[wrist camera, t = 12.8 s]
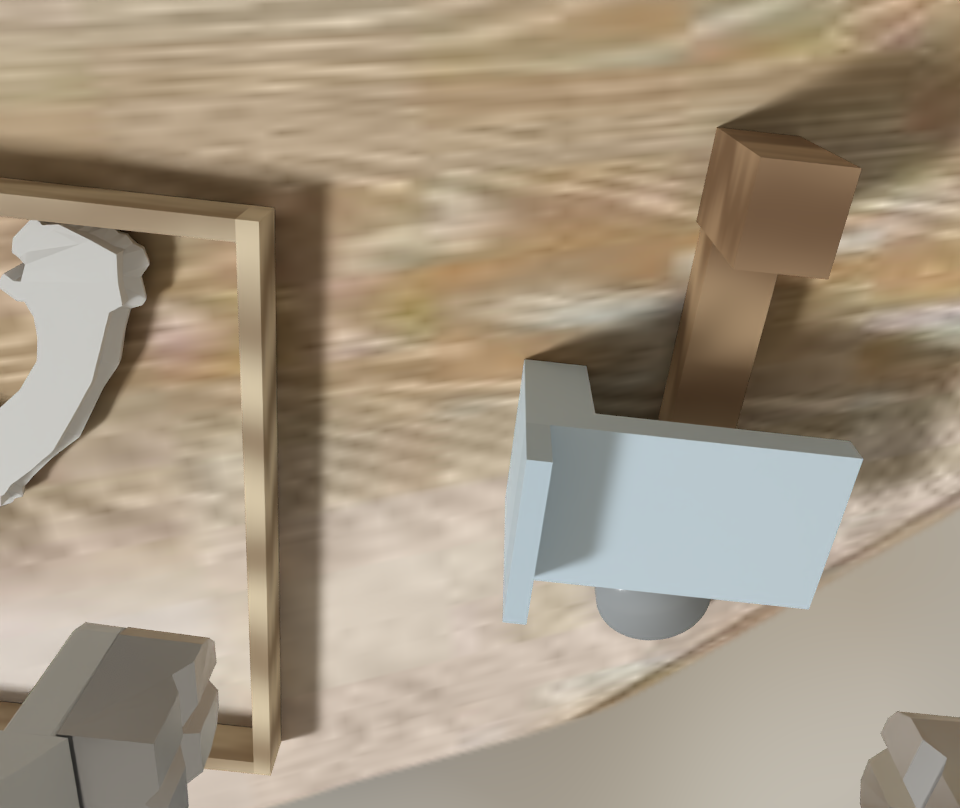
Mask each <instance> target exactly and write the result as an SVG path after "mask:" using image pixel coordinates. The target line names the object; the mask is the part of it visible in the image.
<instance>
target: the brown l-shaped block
mask: <svg viewBox="0 0 960 808" xmlns="http://www.w3.org/2000/svg"><path fill="white" fill-rule="evenodd" d="M861 170H862V168H860V167H858V166H856V165H854V164H852V163H851V162H849V161H847V160H845V159H843V158H841V157H839V156H837V155H835V154H833V153H831V152H829V151H827V150H825V149H823V148H821V147H820V146H818V145H816V144H814V143H812V142H810V141H808V140H806V139H804V138H802V137H800V136H793V135H783V134H774V133H765V132H756V131H747V130H738V129H729V128H719V127H717V130H716V134H715V139H714V144H713V148H712V153H711V157H710V162H709V166H708V171H707V175H706V180H705V185H704V189H703V194H702V198H701V203H700V207H699V212H698V217H697V223H698V224H699V225H700V227H701V229H700V233H699V238H698V242H697V247H696V251H695V256H694V260H693V265H692V269H691V274H690V278H689V283H688V287H687V292H686V296H685V301H684V305H683V310H682V314H681V319H680V323H679V328H678V332H677V337H676V341H675V346H674V350H673V355H672V359H671V364H670V368H669V373H668V377H667V382H666V386H665V391H664V395H663V400H662V404H661V409H660V413H659V418H658V420H659V421H669V422H678V423H687V424H696V425H706V426H715V427H724V428H733V429H736V426H737V422H738V419H739V415H740V411H741V408H742V404H743V400H744V397H745V393H746V389H747V386H748V382H749V378H750V375H751V371H752V367H753V364H754V360H755V356H756V353H757V349H758V345H759V342H760V338H761V334H762V331H763V327H764V323H765V320H766V316H767V312H768V309H769V305H770V301H771V298H772V294H773V290H774V287H775V283H776V279H777V276H778V274H782V275H791V276H801V277H810V278H819V279H829V275H830V272H831V269H832V266H833V262H834V259H835V256H836V252H837V249H838V246H839V242H840V239H841V236H842V232H843V229H844V226H845V222H846V219H847V216H848V213H849V209H850V206H851V203H852V199H853V196H854V193H855V189H856V186H857V183H858V179H859V176H860V173H861Z"/></svg>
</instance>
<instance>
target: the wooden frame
mask: <svg viewBox="0 0 960 808" xmlns="http://www.w3.org/2000/svg"><path fill="white" fill-rule="evenodd" d="M0 217H9V218H18V219H27V220H37V221H46V222H55V223H64V224H73V225H82V226H91V227H100V228H109V229H119V230H128V231H137V232H146V233H155V234H164V235H173V236H182V237H191V238H200V239H210V240H219V241H228V242H236V261H237V290H238V319H239V349H240V378H241V407H242V436H243V465H244V495H245V524H246V553H247V582H248V611H249V640H250V670H251V699H252V728H250V727H240V726H231V725H221V724H217V727H216V731H215V735H214V739H213V743H212V747H211V751H210V754H209V756H208V759H207V761H206V764H205V767H204V769H212V770H222V771H231V772H241V773H251V774H260V775H270V776H271V772H272V769H273V766H274V763H275V760H276V757H277V753H278V750H279V747H280V744H281V694H280V613H279V532H278V451H277V370H276V289H275V208H272V207H263V206H254V205H245V204H236V203H227V202H218V201H209V200H200V199H191V198H182V197H172V196H163V195H154V194H145V193H136V192H127V191H118V190H109V189H100V188H91V187H82V186H73V185H64V184H55V183H45V182H36V181H27V180H18V179H9V178H0ZM21 705H22V704H20V703H10V702H1V701H0V730H2V731H3V730H4V729H5V728H6V726H7V725H8V723H9V722H10V720H11V719H12V718H13V716H14V715H15V713H16V712H17V710H18V709H19V708H20V706H21Z"/></svg>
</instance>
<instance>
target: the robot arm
mask: <svg viewBox="0 0 960 808" xmlns="http://www.w3.org/2000/svg"><path fill="white" fill-rule="evenodd" d="M215 665H216V652H215V642H214V641H213V640H211V639H210V638H206V637H199V636H191V635H184V634H176V633H168V632H161V631H153V630H146V629H138V628H131V627H128V628H123V627H116V626H109V625H102V624H94V623H87V622H86V623H84V624H83V625H81V626H80V627H78V628H77V629H75V630H74V631H73V632H72V634H71V635H70V636H69V638H68V639H67V641H66V642H65V644H64V645H63V646H62V648H61V649H60V651H59V652H58V654H57V655H56V656H55V658H54V659H53V661H52V662H51V663H50V665H49V666H48V668H47V669H46V671H45V672H44V673H43V675H42V676H41V678H40V679H39V681H38V682H37V683H36V685H35V686H34V688H33V689H32V691H31V692H30V693H29V695H28V696H27V698H26V699H25V700H24V702H23V703H22V705H21V706H20V708H19V709H18V710H17V712H16V713H15V715H14V716H13V718H12V719H11V720H10V722H9V723H8V725H7V726H6V728H5V729H4V730H3V731H2V730H0V808H188V806H189V805H188V791H187V783H189V782H190V781H191V780H193V779H194V778H195V777H197V776H198V775H199V774H201V773H202V772H203V769H204V767H205V764H206V761H207V759H208V756H209V754H210V751H211V747H212V743H213V739H214V735H215V731H216V727H217V719H218V708H219V701H218V690H217V689H216V687H215V686H214V685H213V684H212V683H211V682H210V681H209V678H210V676H211V674H212V672H213V669H214V667H215ZM881 736H882V738H883V740H884V742H885V744H886V746H887V749H885V750H883V751H882V752H880V753H879V754H877V755H876V756H874V757H872V758H871V759H869V760H868V763H867V765H866V768H865V770H864V773H863V776H862V778H861V791H860V805H861V808H960V717H951V716H939V715H930V714H920V713H910V712H899V711H897V712H896V713H894V714H893V715H892V716H890V717H889V718H888V719H887V721H886V723H885V726H884V727H883V730H882V732H881Z"/></svg>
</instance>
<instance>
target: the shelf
mask: <svg viewBox="0 0 960 808" xmlns="http://www.w3.org/2000/svg"><path fill="white" fill-rule="evenodd" d="M862 461H863V458H862V456H861V455H860V454H859V452H858V451H857V450H856V448H855V447H854V446H853V444H852V443H851V442H850V441H844V440H835V439H826V438H816V437H807V436H798V435H789V434H779V433H770V432H761V431H752V430H743V429H733V428H724V427H715V426H706V425H696V424H687V423H678V422H669V421H659V420H650V419H641V418H632V417H622V416H613V415H604V414H595V409H594V404H593V399H592V393H591V388H590V382H589V377H588V372H587V366H583V365H573V364H564V363H555V362H546V361H537V360H527V359H524V367H523V374H522V381H521V389H520V396H519V403H518V411H517V418H516V425H515V433H514V440H513V447H512V454H511V462H510V469H509V476H508V484H507V491H506V499H505V544H504V588H503V622H506V623H515V624H525V625H526V623H527V617H528V611H529V605H530V599H531V593H532V587H533V581H534V580H538V581H547V582H556V583H566V584H575V585H585V586H594V587H603V588H613V589H622V590H632V591H641V592H650V593H660V594H669V595H679V596H688V597H697V598H707V599H716V600H726V601H735V602H745V603H754V604H763V605H773V606H782V607H792V608H802V609H809V608H810V605H811V602H812V599H813V597H814V594H815V591H816V588H817V586H818V583H819V580H820V577H821V575H822V572H823V569H824V566H825V563H826V561H827V558H828V555H829V552H830V550H831V547H832V544H833V541H834V539H835V536H836V533H837V530H838V528H839V525H840V522H841V519H842V517H843V514H844V511H845V508H846V505H847V503H848V500H849V497H850V494H851V492H852V489H853V486H854V483H855V481H856V478H857V475H858V472H859V470H860V467H861V464H862Z"/></svg>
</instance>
